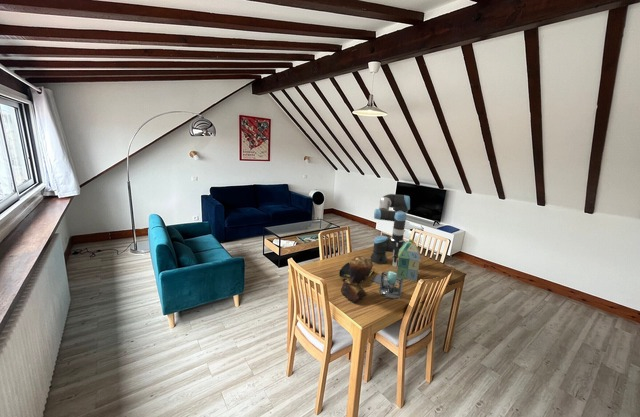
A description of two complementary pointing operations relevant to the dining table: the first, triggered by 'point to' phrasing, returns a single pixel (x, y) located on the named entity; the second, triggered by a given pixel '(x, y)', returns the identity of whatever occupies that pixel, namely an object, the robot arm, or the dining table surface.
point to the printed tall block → (408, 261)
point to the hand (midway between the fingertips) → (394, 262)
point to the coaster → (379, 280)
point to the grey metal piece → (390, 288)
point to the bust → (356, 278)
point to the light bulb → (392, 278)
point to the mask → (347, 272)
